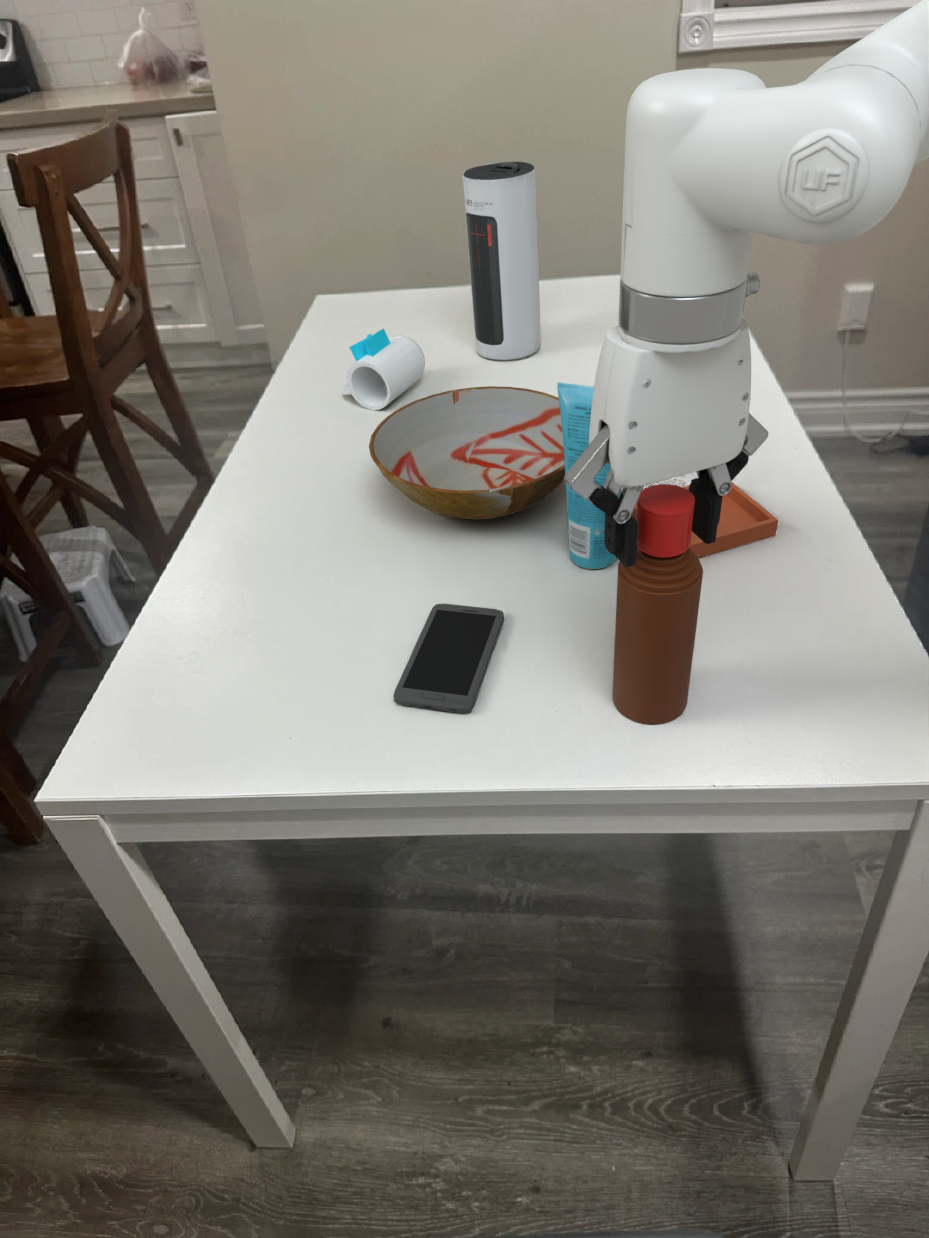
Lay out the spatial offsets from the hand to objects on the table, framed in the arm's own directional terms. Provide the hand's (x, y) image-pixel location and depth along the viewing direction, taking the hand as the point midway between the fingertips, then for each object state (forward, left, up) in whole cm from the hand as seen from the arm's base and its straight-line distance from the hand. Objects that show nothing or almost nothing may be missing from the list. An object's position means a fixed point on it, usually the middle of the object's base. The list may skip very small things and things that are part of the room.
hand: (661, 543), depth 65 cm
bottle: (0, 0, -16) cm, 16 cm away
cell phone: (+14, -12, -16) cm, 25 cm away
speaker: (-18, -77, -16) cm, 81 cm away
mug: (+4, -72, -16) cm, 74 cm away
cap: (0, 0, 0) cm, 0 cm away
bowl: (+1, -38, -16) cm, 41 cm away
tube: (-5, -21, -17) cm, 27 cm away
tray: (-18, -21, -16) cm, 32 cm away
